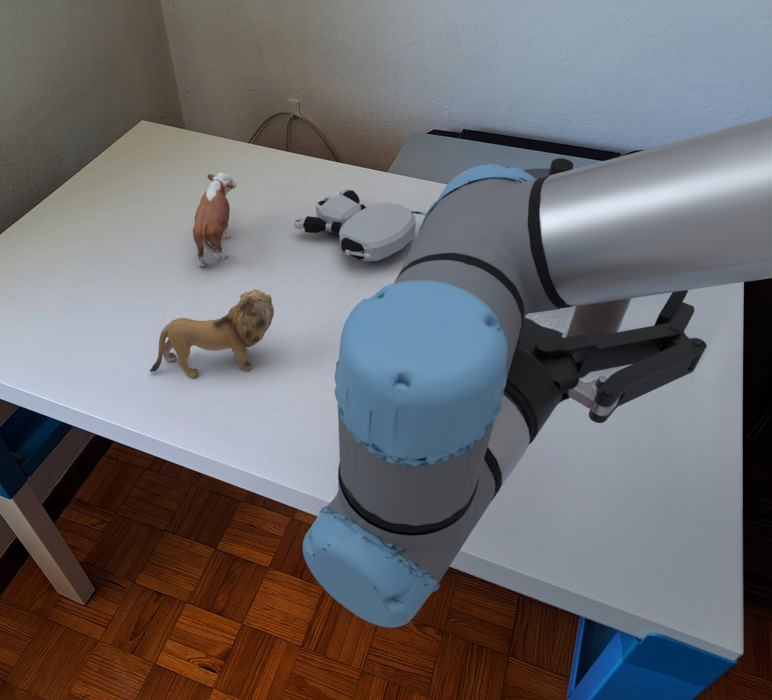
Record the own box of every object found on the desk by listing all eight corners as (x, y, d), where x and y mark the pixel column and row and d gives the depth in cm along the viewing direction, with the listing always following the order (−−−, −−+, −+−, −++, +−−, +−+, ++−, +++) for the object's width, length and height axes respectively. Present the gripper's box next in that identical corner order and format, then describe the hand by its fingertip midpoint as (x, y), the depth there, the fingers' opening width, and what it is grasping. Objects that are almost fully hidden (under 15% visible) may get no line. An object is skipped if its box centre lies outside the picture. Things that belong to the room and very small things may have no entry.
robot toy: (289, 242, 95) (373, 282, 86) (285, 214, 92) (372, 253, 83) (347, 204, 101) (431, 238, 92) (346, 176, 97) (432, 209, 89)
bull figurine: (245, 216, 98) (239, 165, 92) (221, 276, 89) (213, 224, 83) (215, 214, 99) (207, 163, 93) (189, 273, 89) (179, 221, 84)
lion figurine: (272, 333, 81) (267, 275, 75) (282, 365, 77) (277, 306, 71) (148, 359, 79) (131, 301, 72) (153, 393, 75) (135, 335, 69)
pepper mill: (612, 350, 77) (653, 252, 67) (596, 376, 75) (636, 278, 65) (572, 332, 79) (605, 235, 69) (554, 357, 77) (586, 259, 67)
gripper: (331, 371, 54) (462, 237, 65) (651, 542, 43) (743, 345, 54) (329, 300, 49) (473, 168, 60) (695, 475, 38) (787, 272, 49)
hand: (601, 252), depth 57 cm, fingers open, 13 cm apart
